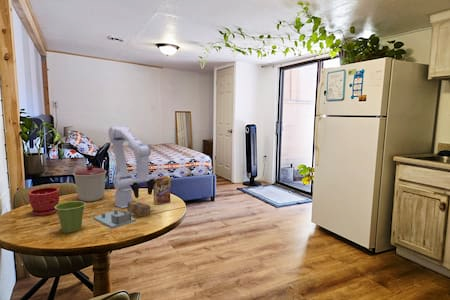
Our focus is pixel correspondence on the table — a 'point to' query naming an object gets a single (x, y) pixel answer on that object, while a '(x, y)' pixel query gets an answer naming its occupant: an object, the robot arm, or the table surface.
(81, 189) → the canister
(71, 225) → the plant pot
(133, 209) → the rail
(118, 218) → the bracket board
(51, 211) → the plant pot
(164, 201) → the candy box
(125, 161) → the robot arm
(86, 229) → the table surface
